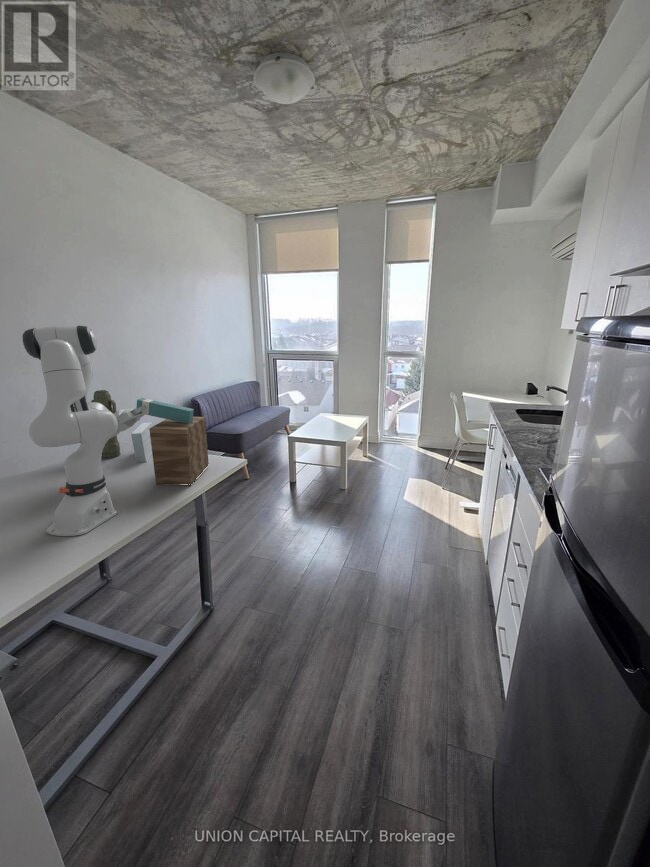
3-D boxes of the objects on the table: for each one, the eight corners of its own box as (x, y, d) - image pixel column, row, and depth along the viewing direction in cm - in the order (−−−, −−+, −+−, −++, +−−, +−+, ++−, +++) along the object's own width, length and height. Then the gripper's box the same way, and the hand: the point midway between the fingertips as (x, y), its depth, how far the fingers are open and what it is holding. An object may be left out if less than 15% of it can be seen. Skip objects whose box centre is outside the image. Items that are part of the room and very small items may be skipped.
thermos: (119, 458, 191) (110, 392, 181) (95, 458, 190) (84, 392, 179) (126, 452, 199) (117, 389, 189) (103, 452, 198) (93, 389, 188)
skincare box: (146, 449, 205) (142, 422, 201) (156, 449, 206) (153, 422, 202) (134, 462, 185) (130, 433, 181) (146, 462, 186) (142, 432, 182)
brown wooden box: (191, 485, 161) (186, 429, 153) (156, 484, 161) (149, 428, 154) (208, 467, 182) (205, 417, 174) (177, 466, 182) (172, 415, 175)
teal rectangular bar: (189, 424, 162) (190, 411, 160) (136, 412, 162) (136, 399, 160) (192, 421, 166) (193, 408, 164) (141, 410, 165) (141, 397, 164)
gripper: (105, 419, 154) (130, 404, 152) (132, 408, 174) (155, 395, 171) (114, 431, 156) (139, 417, 153) (140, 419, 175) (162, 406, 173)
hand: (148, 405), depth 162 cm, fingers closed on teal rectangular bar, 4 cm apart
